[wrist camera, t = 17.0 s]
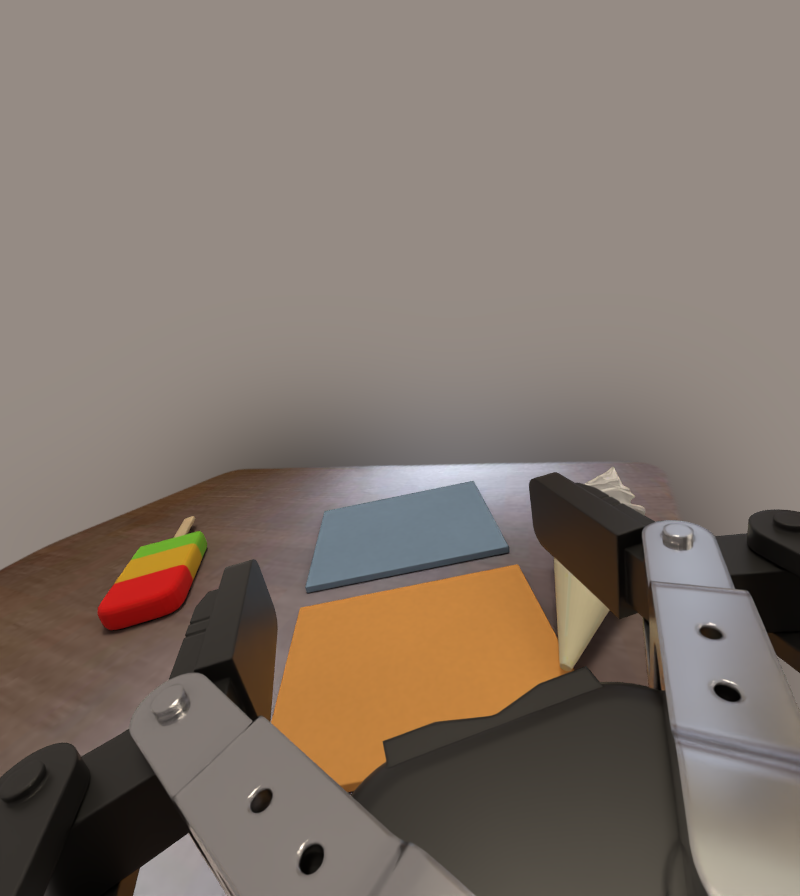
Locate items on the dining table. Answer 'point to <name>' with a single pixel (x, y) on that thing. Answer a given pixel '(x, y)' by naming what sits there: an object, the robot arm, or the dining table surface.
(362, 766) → the caramel pad
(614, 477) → the ice cream cone
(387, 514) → the slate pad
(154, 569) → the popsicle
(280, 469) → the dining table surface
